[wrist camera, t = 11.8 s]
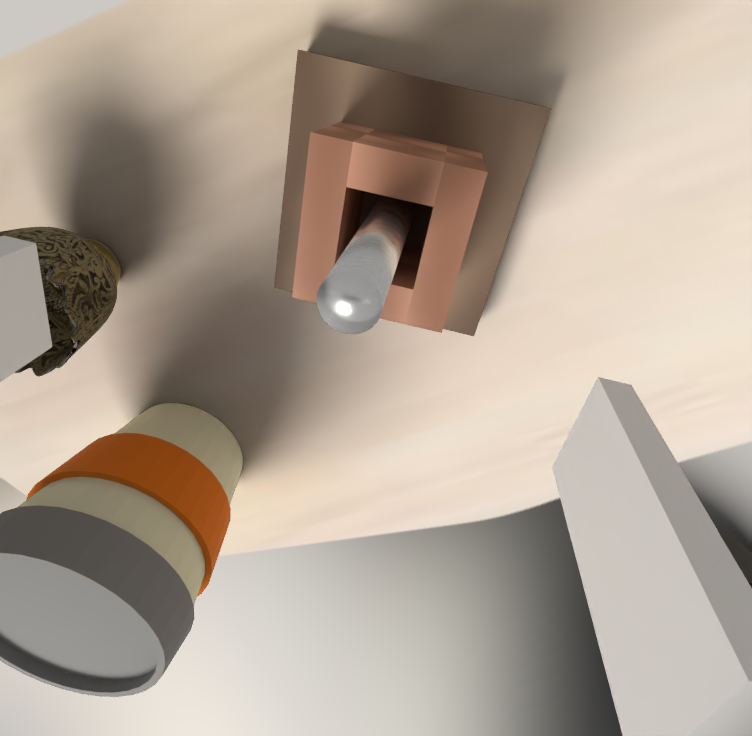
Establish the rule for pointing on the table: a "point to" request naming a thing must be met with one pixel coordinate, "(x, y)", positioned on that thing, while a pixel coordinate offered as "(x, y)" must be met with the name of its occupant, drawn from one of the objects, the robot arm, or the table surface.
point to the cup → (71, 290)
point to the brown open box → (397, 180)
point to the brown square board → (427, 122)
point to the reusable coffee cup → (117, 553)
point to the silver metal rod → (366, 268)
